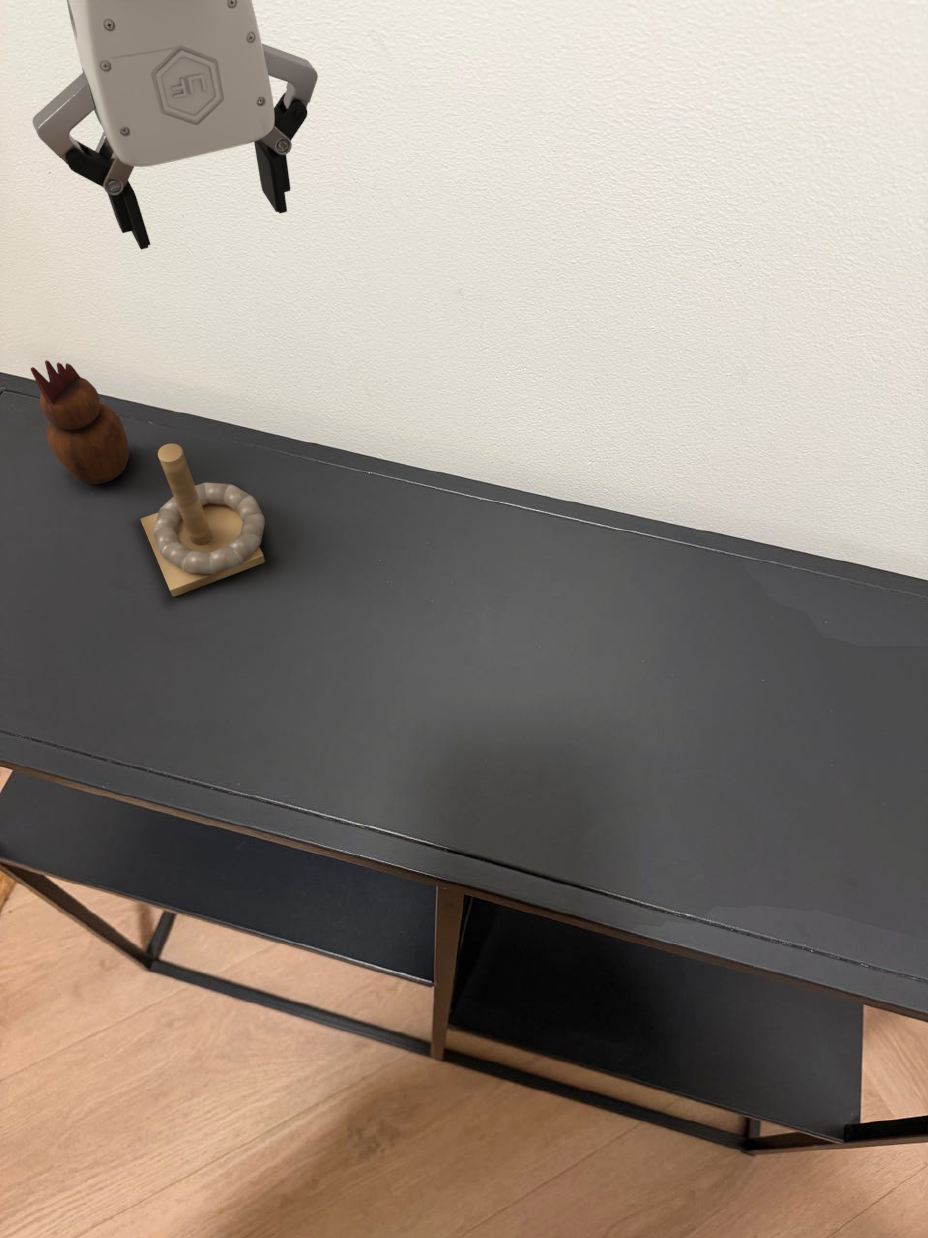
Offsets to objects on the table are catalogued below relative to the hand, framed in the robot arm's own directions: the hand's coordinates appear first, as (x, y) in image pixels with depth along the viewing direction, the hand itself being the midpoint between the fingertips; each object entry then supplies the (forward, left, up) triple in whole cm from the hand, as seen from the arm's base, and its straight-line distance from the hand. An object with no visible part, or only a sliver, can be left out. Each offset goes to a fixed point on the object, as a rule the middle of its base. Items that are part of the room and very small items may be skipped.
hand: (208, 218), depth 58 cm
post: (-8, -3, -30) cm, 31 cm away
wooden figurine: (-14, +10, -31) cm, 35 cm away
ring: (-7, -3, -28) cm, 29 cm away
